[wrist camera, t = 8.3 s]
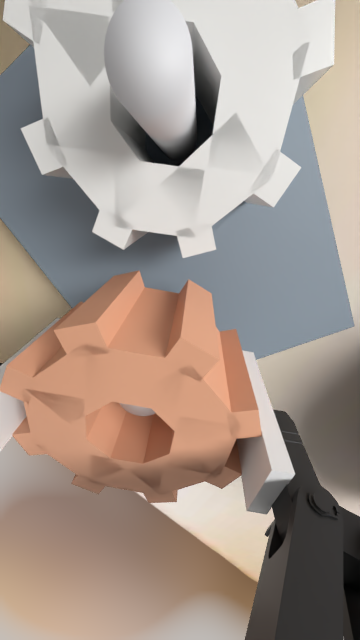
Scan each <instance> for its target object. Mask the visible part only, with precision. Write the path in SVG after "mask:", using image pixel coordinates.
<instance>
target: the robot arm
mask: <svg viewBox="0 0 360 640" xmlns="http://www.w3.org/2000/svg"><path fill="white" fill-rule="evenodd" d="M60 319H61V318H56V319H55V320H54V321H53V322H52V323H50V324H49V325H48V326H47V327H46V328H44V329H43V330H42V331H41V332H40V333H39V334H37V335H36V336H35V337H34V338H33V339H32V340H30V341H29V342H28V343H27V344H26V345H24V346H23V347H22V348H21V349H20V350H19V351H17V352H16V353H15V354H14V355H13V356H11V357H10V358H9V359H8V360H7V361H6V362H4V363H0V385H1V382H2V379H3V376H4V372H5V369H6V366H7V365H8V364H9V363H10V362H11V361H12V360H14V359H15V358H16V357H17V356H18V355H19V354H20V353H22V352H23V351H24V350H25V349H26V348H27V347H29V346H30V345H31V344H32V343H33V342H34V341H36V340H37V339H38V338H39V337H40V336H41V335H42V334H44V333H45V332H46V331H47V330H48V329H49V328H51V327H52V326H53V325H54V324H55V323H56V322H57V321H59V320H60ZM242 352H243V355H244V359H245V363H246V366H247V370H248V373H249V377H250V381H251V384H252V388H253V391H254V395H255V399H256V402H257V406H258V409H259V417H260V426H261V434H262V436H261V437H251V438H238V439H237V445H238V452H239V458H240V465H241V471H242V475H241V476H242V483H243V489H244V496H245V503H246V509H247V511H250V512H256V513H262V514H267V513H268V512H269V510H270V509H271V507H272V509H273V513H274V517H275V520H274V521H273V522H272V524H271V525H270V526H269V528H268V529H267V531H266V533H265V535H266V536H267V537H268V536H269V539H268V543H267V547H266V551H265V556H264V560H263V564H262V569H261V573H260V577H259V581H258V586H257V590H256V594H255V598H254V603H253V607H252V611H251V616H250V620H249V624H248V628H247V633H246V637H245V640H343V636H344V640H360V517H359V516H357V515H355V514H353V513H351V512H349V511H348V510H346V509H344V508H342V507H341V506H339V505H338V503H337V501H336V500H335V499H334V497H333V496H332V495H331V494H330V493H329V492H328V491H327V490H326V489H324V488H323V487H322V486H321V485H320V483H319V481H318V479H317V477H316V474H315V472H314V470H313V467H312V465H311V462H310V460H309V458H308V455H307V453H306V450H305V448H304V446H303V445H302V441H301V438H300V436H299V435H298V431H297V429H296V426H295V424H294V422H293V421H292V419H291V418H290V417H289V416H288V414H287V413H286V412H283V411H278V410H273V408H272V405H271V402H270V399H269V396H268V393H267V391H266V388H265V385H264V382H263V379H262V376H261V373H260V370H259V367H258V364H257V362H256V359H255V356H254V353H253V352H249V351H243V350H242ZM26 416H27V415H26V411H25V406H24V402H23V401H21V400H19V399H17V398H14V397H12V396H10V395H7V394H5V393H3V392H1V391H0V451H1V450H2V448H3V447H4V446H5V445H6V444H7V442H8V441H9V440H10V438H11V437H12V434H13V433H14V431H15V430H16V429H17V428H18V426H19V425H20V424H21V423H22V421H23V420H24V419H25V418H26Z"/></svg>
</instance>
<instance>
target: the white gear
mask: <svg viewBox="0 0 360 640" xmlns="http://www.w3.org/2000/svg"><path fill="white" fill-rule="evenodd" d="M123 1H124V0H5V4H4V13H3V21H4V22H5V23H7V24H8V25H9V26H10V27H11V28H12V29H13V30H14V31H16V32H17V33H18V34H19V35H20V36H21V37H22V38H24V39H25V40H26V41H27V42H28V43H29V44H30V45H31V46H33V47H34V51H35V59H36V67H37V75H38V83H39V91H40V99H41V107H42V115H43V119H41V120H39V121H37V122H34V123H32V124H30V125H28V126H25V127H23V128H21V131H22V133H23V135H24V137H25V139H26V141H27V144H28V146H29V148H30V150H31V152H32V154H33V156H34V159H35V161H36V163H37V165H38V167H39V169H40V171H41V174H42V175H47V176H55V177H63V178H71V179H74V180H75V181H76V183H77V184H78V185H79V186H80V187H81V189H82V190H83V191H84V192H85V193H86V195H87V196H88V197H89V198H90V199H91V201H92V202H93V203H94V204H95V205H96V207H97V208H98V209H99V213H98V216H97V219H96V222H95V225H94V228H93V230H92V232H93V233H95V234H97V235H99V236H100V237H102V238H104V239H106V240H107V241H109V242H111V243H113V244H114V245H116V246H118V247H120V248H121V249H123V250H124V249H125V248H127V247H128V246H129V245H131V244H132V243H134V242H135V241H137V240H138V239H139V238H141V237H142V236H144V235H145V234H146V233H148V232H153V233H160V234H167V235H174V236H177V238H178V242H179V246H180V250H181V253H182V257H183V258H186V257H190V256H193V255H197V254H201V253H205V252H209V251H213V250H216V246H215V241H214V235H213V230H212V225H214V224H215V223H216V222H218V221H219V220H220V219H221V218H223V217H224V216H225V215H227V214H228V213H229V212H230V211H232V210H233V209H234V208H235V207H237V206H238V205H239V204H241V203H242V202H243V201H245V202H246V203H250V204H256V205H262V206H268V207H274V206H275V205H276V203H277V202H278V200H279V199H280V198H281V196H282V195H283V193H284V192H285V190H286V189H287V188H288V186H289V185H290V183H291V182H292V180H293V179H294V178H295V176H296V175H297V173H298V172H299V170H300V169H301V167H300V166H299V165H297V164H296V163H295V162H293V161H292V160H291V159H289V158H288V157H287V156H285V155H284V154H283V153H281V152H280V150H281V147H282V143H283V139H284V136H285V132H286V128H287V124H288V121H289V117H290V113H291V110H292V106H293V104H294V103H295V102H296V101H297V100H298V99H299V98H300V97H301V96H302V95H303V94H304V93H305V92H306V91H307V90H308V89H309V88H311V87H312V86H313V85H314V84H315V83H316V82H317V81H318V80H319V79H320V78H321V77H322V76H323V75H324V74H325V73H326V72H327V71H328V70H329V69H330V68H331V67H332V66H333V65H334V38H335V0H316V1H314V2H312V3H309V4H307V5H305V6H302V7H300V8H298V6H297V3H296V1H295V0H171V1H172V2H173V3H174V5H175V6H176V7H177V8H178V9H179V11H180V12H181V14H182V16H183V17H184V19H185V22H186V24H187V26H188V29H189V33H190V36H191V42H192V50H193V66H194V84H195V96H197V98H198V99H199V101H200V103H201V105H202V106H203V108H204V110H205V112H206V113H207V115H208V117H209V119H210V121H211V122H212V124H213V128H212V134H211V137H210V138H209V139H208V140H206V141H205V142H204V143H203V144H202V145H201V146H200V147H199V148H198V149H197V150H196V151H195V152H194V153H193V154H192V155H191V156H190V157H189V158H187V159H186V160H185V161H184V162H183V163H182V164H181V165H180V166H172V165H165V164H157V163H154V161H153V160H152V158H151V157H150V155H149V154H148V153H147V151H146V150H145V148H146V131H145V130H144V129H143V128H142V127H141V126H140V124H139V123H138V122H137V121H136V120H135V119H134V117H133V116H132V115H131V114H130V113H129V112H128V111H127V109H126V108H125V107H124V106H123V105H122V104H121V102H120V101H119V100H118V98H117V97H116V95H115V94H114V92H113V90H112V88H111V85H110V83H109V80H108V77H107V73H106V68H105V61H104V43H105V36H106V32H107V28H108V25H109V22H110V20H111V18H112V16H113V14H114V12H115V10H116V9H117V7H118V6H119V5H120V4H121V3H122V2H123Z"/></svg>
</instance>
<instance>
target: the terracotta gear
mask: <svg viewBox="0 0 360 640" xmlns="http://www.w3.org/2000/svg"><path fill="white" fill-rule="evenodd" d="M0 391H1V392H3V393H5V394H7V395H10V396H12V397H14V398H17V399H19V400H21V401H23V402H24V406H25V411H26V415H27V416H26V418H25V419H24V420H23V421H22V423H21V424H20V425H19V426H18V428H17V429H16V430H15V431H14V433H13V434H12V436H13V437H14V438H15V439H16V440H17V441H18V443H19V444H20V445H21V446H22V448H23V449H24V450H25V451H26V452H27V454H28V455H39V454H48V455H49V456H51V457H52V458H54V459H55V460H56V461H58V462H59V463H61V464H62V465H64V466H65V467H67V468H68V469H69V470H71V471H72V472H74V473H75V474H76V475H75V477H74V479H73V481H72V484H73V485H76V486H78V487H81V488H83V489H86V490H89V491H91V492H94V493H97V494H99V493H100V492H101V491H102V489H103V488H104V487H105V486H107V487H113V488H119V489H124V490H130V491H136V492H142V493H144V495H145V497H146V499H147V501H148V502H149V503H160V502H177V490H178V489H182V488H185V487H188V486H191V485H194V484H198V483H201V482H204V481H206V482H208V483H210V484H212V485H215V486H217V487H219V488H221V489H222V488H224V487H225V486H227V485H228V484H229V483H231V482H232V481H234V480H235V479H237V478H238V477H239V476H241V475H242V471H241V465H240V458H239V452H238V445H237V439H238V438H251V437H261V436H262V434H261V426H260V417H259V409H258V406H257V402H256V399H255V395H254V391H253V388H252V384H251V381H250V377H249V373H248V370H247V366H246V363H245V359H244V355H243V352H242V348H241V345H240V341H239V337H238V334H237V330H236V329H232V330H226V331H220V332H219V330H218V329H217V327H216V325H215V317H214V309H213V301H212V293H210V292H208V291H207V290H205V289H204V288H202V287H200V286H199V285H197V284H196V283H194V282H192V281H191V280H189V279H188V281H187V282H186V284H185V285H184V287H183V288H182V290H181V291H180V293H174V292H169V291H163V290H158V289H152V288H146V287H145V286H144V283H143V280H142V277H141V274H140V270H138V271H134V272H129V273H125V274H120V275H116V276H113V277H112V278H111V279H110V280H109V281H107V282H106V283H105V284H104V285H103V286H102V287H101V288H100V289H99V290H97V291H96V292H95V293H94V294H93V295H92V296H91V297H90V298H89V299H87V300H86V301H85V302H84V303H83V302H79V303H78V304H77V305H76V306H75V307H74V308H73V309H71V310H70V311H69V312H68V313H67V314H66V315H64V316H63V317H62V318H61V319H60V320H59V321H57V322H56V323H55V324H54V325H53V326H52V327H51V328H49V329H48V330H47V331H46V332H45V333H44V334H42V335H41V336H40V337H39V338H38V339H37V340H36V341H34V342H33V343H32V344H31V345H30V346H29V347H27V348H26V349H25V350H24V351H23V352H22V353H20V354H19V355H18V356H17V357H16V358H15V359H14V360H12V361H11V362H10V363H9V364H8V365H7V366H6V369H5V372H4V376H3V379H2V382H1V385H0ZM120 403H122V404H128V405H134V406H140V407H145V408H151V409H152V410H153V411H154V412H155V414H153V415H150V416H137V415H134V414H131V413H129V412H127V411H126V410H125V409H123V408H122V406H121V405H120Z"/></svg>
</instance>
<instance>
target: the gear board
mask: <svg viewBox="0 0 360 640" xmlns="http://www.w3.org/2000/svg"><path fill="white" fill-rule="evenodd" d="M104 61H105V68H106V73H107V77H108V80H109V83H110V85H111V88H112V90H113V92H114V94H115V95H116V97H117V98H118V100H119V101H120V102H121V104H122V105H123V106H124V107H125V108H126V109H127V111H128V112H129V113H130V114H131V115H132V116H133V117H134V119H135V120H136V121H137V122H138V123H139V124H140V126H141V127H142V128H143V129H144V130H145V131H146V148H145V150H146V151H147V153H148V154H149V155H150V157H151V158H152V160H153V161H154V163H157V164H165V165H172V166H180V165H181V164H182V163H183V162H184V161H185V160H186V159H187V158H189V157H190V156H191V155H192V154H193V153H194V152H195V151H196V150H197V149H198V148H199V147H200V146H201V145H202V144H203V143H204V142H205V141H206V140H208V139H209V138H210V137H211V134H212V128H213V124H212V122H211V121H210V119H209V117H208V115H207V113H206V112H205V110H204V108H203V106H202V105H201V103H200V101H199V99H198V98H197V96H195V84H194V66H193V50H192V42H191V36H190V33H189V29H188V26H187V24H186V22H185V19H184V17H183V16H182V14H181V12H180V11H179V9H178V8H177V7H176V6H175V5H174V3H173V2H172V1H171V0H124V1H123V2H122V3H121V4H120V5H119V6H118V7H117V9H116V10H115V12H114V14H113V16H112V18H111V20H110V22H109V25H108V28H107V32H106V36H105V43H104ZM41 119H43V115H42V107H41V99H40V91H39V83H38V75H37V67H36V59H35V51H34V47H33V46H31V45H29V46H28V47H27V48H26V49H25V50H24V51H23V53H22V54H21V55H20V56H19V57H18V58H17V59H16V60H15V61H14V62H13V63H12V64H11V65H10V66H9V67H8V68H7V69H6V70H5V71H4V72H3V73H2V74H1V75H0V218H1V219H2V221H3V222H4V223H5V225H6V226H7V227H8V228H9V230H10V231H11V232H12V233H13V235H14V236H15V237H16V238H17V240H18V241H19V242H20V243H21V245H22V246H23V247H24V248H25V250H26V251H27V252H28V253H29V255H30V256H31V257H32V258H33V260H34V261H35V262H36V263H37V265H38V266H39V267H40V269H41V270H42V271H43V272H44V274H45V275H46V276H47V277H48V279H49V280H50V281H51V282H52V284H53V285H54V286H55V287H56V289H57V290H58V291H59V292H60V294H61V295H62V296H63V297H64V299H65V300H66V301H67V302H68V304H69V305H70V306H71V308H72V309H73V308H74V307H75V306H76V305H77V304H78V303H79V302H83V303H84V302H85V301H86V300H87V299H89V298H90V297H91V296H92V295H93V294H94V293H95V292H96V291H97V290H99V289H100V288H101V287H102V286H103V285H104V284H105V283H106V282H107V281H109V280H110V279H111V278H112V277H113V276H116V275H120V274H125V273H129V272H134V271H138V270H140V274H141V277H142V280H143V283H144V286H145V287H146V288H152V289H158V290H163V291H169V292H174V293H180V291H181V290H182V288H183V287H184V285H185V284H186V282H187V281H188V279H189V280H191V281H192V282H194V283H196V284H197V285H199V286H200V287H202V288H204V289H205V290H207V291H208V292H210V293H212V301H213V309H214V317H215V325H216V327H217V329H218V330H219V332H220V331H226V330H232V329H236V330H237V334H238V337H239V341H240V345H241V348H242V350H243V351H249V352H253V353H254V356H255V359H256V360H257V359H260V358H263V357H266V356H269V355H271V354H274V353H277V352H280V351H283V350H286V349H289V348H292V347H295V346H298V345H301V344H304V343H307V342H310V341H313V340H316V339H318V338H321V337H324V336H327V335H330V334H333V333H336V332H339V331H342V330H345V329H348V328H351V327H354V322H353V317H352V313H351V308H350V304H349V299H348V295H347V290H346V286H345V281H344V277H343V273H342V268H341V264H340V259H339V255H338V250H337V246H336V241H335V237H334V232H333V228H332V223H331V219H330V214H329V210H328V205H327V201H326V197H325V192H324V188H323V183H322V179H321V174H320V170H319V165H318V161H317V156H316V152H315V147H314V143H313V138H312V134H311V130H310V125H309V121H308V116H307V112H306V107H305V103H304V98H303V95H302V96H301V97H300V98H299V99H298V100H297V101H296V102H295V103H294V104H293V106H292V110H291V113H290V117H289V121H288V124H287V128H286V132H285V136H284V139H283V143H282V147H281V150H280V152H281V153H283V154H284V155H285V156H287V157H288V158H289V159H291V160H292V161H293V162H295V163H296V164H297V165H299V166H300V167H301V169H300V170H299V172H298V173H297V175H296V176H295V178H294V179H293V180H292V182H291V183H290V185H289V186H288V188H287V189H286V190H285V192H284V193H283V195H282V196H281V198H280V199H279V200H278V202H277V203H276V205H275V206H274V207H268V206H262V205H256V204H250V203H246V202H245V201H243V202H242V203H241V204H239V205H238V206H237V207H235V208H234V209H233V210H232V211H230V212H229V213H228V214H227V215H225V216H224V217H223V218H221V219H220V220H219V221H218V222H216V223H215V224H214V225H212V230H213V235H214V241H215V246H216V250H213V251H209V252H205V253H201V254H197V255H193V256H190V257H186V258H183V257H182V253H181V250H180V246H179V242H178V238H177V236H174V235H167V234H160V233H153V232H148V233H146V234H145V235H144V236H142V237H141V238H139V239H138V240H137V241H135V242H134V243H132V244H131V245H129V246H128V247H127V248H125V249H124V250H123V249H121V248H120V247H118V246H116V245H114V244H113V243H111V242H109V241H107V240H106V239H104V238H102V237H100V236H99V235H97V234H95V233H93V232H92V230H93V228H94V225H95V222H96V219H97V216H98V213H99V209H98V208H97V207H96V205H95V204H94V203H93V202H92V201H91V199H90V198H89V197H88V196H87V195H86V193H85V192H84V191H83V190H82V189H81V187H80V186H79V185H78V184H77V183H76V181H75V180H74V179H71V178H63V177H55V176H47V175H42V174H41V171H40V169H39V167H38V165H37V163H36V161H35V159H34V156H33V154H32V152H31V150H30V148H29V146H28V144H27V141H26V139H25V137H24V135H23V133H22V131H21V128H23V127H25V126H28V125H30V124H32V123H34V122H37V121H39V120H41ZM120 405H121V406H122V408H123V409H125V410H126V411H127V412H129V413H131V414H134V415H137V416H150V415H153V414H155V412H154V411H153V410H152V409H151V408H145V407H140V406H134V405H128V404H122V403H120Z"/></svg>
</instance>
